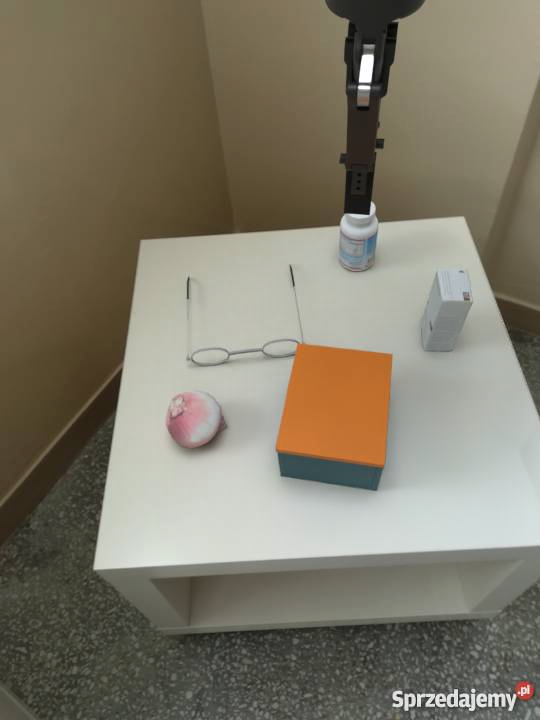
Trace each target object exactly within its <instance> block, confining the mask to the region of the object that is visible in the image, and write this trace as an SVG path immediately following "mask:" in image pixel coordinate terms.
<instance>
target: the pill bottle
mask: <svg viewBox="0 0 540 720" xmlns="http://www.w3.org/2000/svg"><path fill="white" fill-rule="evenodd" d="M376 210H377V208H376V205H375V203H374V202H373V201H372V200H371V208H370V215H359V214H345V213H344V214H343V216H342V217H341V219H340V224H339V245H338V260H339V262H340V264H341V265H342V266H343V267H344V268H345V269H347V270H349V271H351V272H362V271H366V270H367V269H369V268H370V267H371V266H372V265H373V264H374V262H375V258H376V251H377V241H378V234H379V233H378V232H379V220H378V218H377V216H376Z"/></svg>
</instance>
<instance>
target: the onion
mask: <svg viewBox="0 0 540 720" xmlns="http://www.w3.org/2000/svg"><path fill="white" fill-rule="evenodd" d="M165 426H166V430H167V432H168V434H169V435H170V437H171V438H172V440H173V441H174V442H175V443H176V444H178V445H179V446H182V447H183V448H188V449H194V448H197V447H198V448H199V447H201V446H204V445H206V444H207V443H209V442H210V441H211V440H212V439H213V438H214V437H215V436H216V435H217V434H219V433H220V432H221V431H222V430H223V429H225V428H226V427H227V426H228V424H227V422H226V419H225V417H224V415H223V412H222V406H221V405H220V403H219V402H218V401H217V400H216V398H215V397H214V396H213V395H211V394H210V393H208V392H206V391H203V390H198V389H190V390H186V391H183V392H181V393H179V394H177V395H175V396H174V397H173V398H172V399H170V403H169V405H168V408H167V411H166V414H165Z"/></svg>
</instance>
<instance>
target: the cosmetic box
mask: <svg viewBox="0 0 540 720" xmlns="http://www.w3.org/2000/svg"><path fill="white" fill-rule="evenodd" d="M430 287H431V288H430V290H429V294H428V296H427V300H426V303H425V306H424V310H423V313H422V315H421V319H420V329H421V330H420V332H421V341H422V347H423V350H424V351H426V352H427V351H428V352H452V351H453V349H454V347H455V344H456V342H457V339H458V337H459V335H460V333H461V331H462V328H463V326H464V324H465V322H466V320H467V317H468V315H469V313H470V310H471V309H472V306H473V303H474V296H473V292H472V282H471V279H470V276H469V270H468V268H467V267H444V268H443V267H441V268H440V267H439V268H437V269H436V272H435V274H434V278H433V281H432V284H431V286H430Z"/></svg>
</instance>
